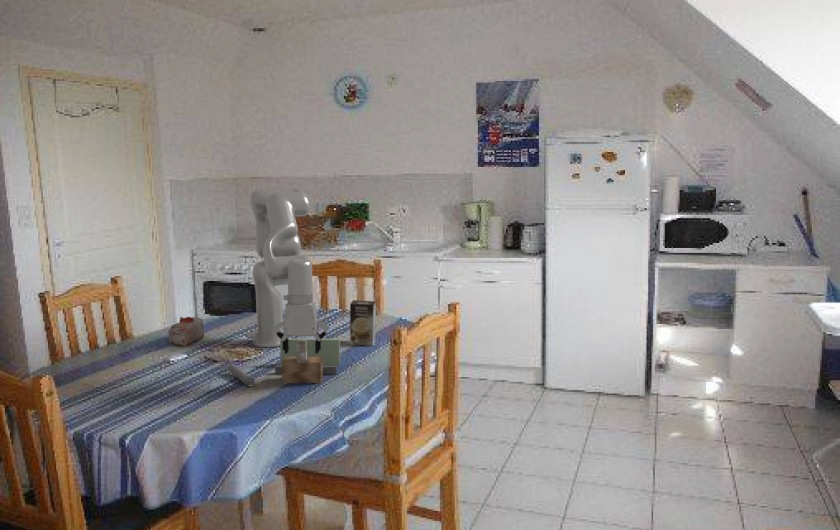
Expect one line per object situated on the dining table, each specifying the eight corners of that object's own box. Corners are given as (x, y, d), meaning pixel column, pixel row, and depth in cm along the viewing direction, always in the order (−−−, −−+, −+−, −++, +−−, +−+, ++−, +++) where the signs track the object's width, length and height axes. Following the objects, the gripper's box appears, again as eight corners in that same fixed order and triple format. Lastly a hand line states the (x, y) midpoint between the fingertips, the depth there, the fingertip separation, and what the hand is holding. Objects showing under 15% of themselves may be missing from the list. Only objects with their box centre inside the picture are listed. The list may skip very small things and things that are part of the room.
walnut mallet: (282, 384, 209) (280, 344, 206) (286, 377, 215) (284, 338, 213) (320, 384, 209) (319, 344, 206) (323, 377, 215) (322, 338, 213)
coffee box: (349, 345, 250) (348, 303, 247) (352, 340, 256) (352, 300, 253) (373, 346, 249) (373, 304, 246) (376, 341, 255) (376, 300, 253)
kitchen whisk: (244, 391, 203) (243, 371, 202) (203, 363, 229) (203, 346, 228) (263, 386, 207) (262, 367, 206) (221, 360, 233) (220, 343, 232)
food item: (186, 348, 246) (184, 322, 244) (167, 346, 248) (165, 320, 246) (206, 338, 259) (205, 313, 257) (188, 336, 261) (187, 312, 259)
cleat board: (275, 374, 218) (274, 347, 216) (281, 363, 228) (280, 338, 226) (336, 374, 218) (336, 347, 216) (340, 364, 228) (339, 338, 227)
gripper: (270, 301, 203) (271, 355, 205) (326, 301, 203) (328, 355, 206) (275, 296, 210) (276, 348, 213) (330, 296, 210) (331, 349, 213)
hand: (302, 352), depth 209 cm, fingers open, 9 cm apart
